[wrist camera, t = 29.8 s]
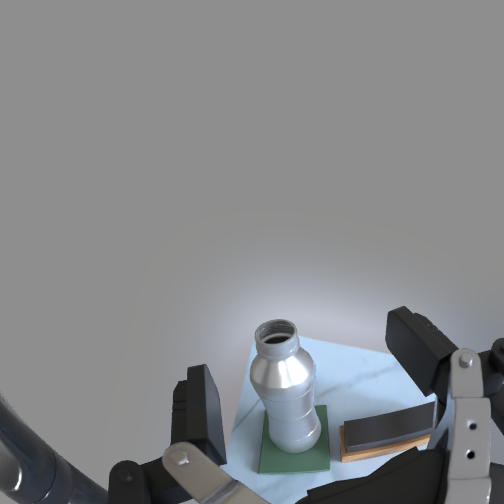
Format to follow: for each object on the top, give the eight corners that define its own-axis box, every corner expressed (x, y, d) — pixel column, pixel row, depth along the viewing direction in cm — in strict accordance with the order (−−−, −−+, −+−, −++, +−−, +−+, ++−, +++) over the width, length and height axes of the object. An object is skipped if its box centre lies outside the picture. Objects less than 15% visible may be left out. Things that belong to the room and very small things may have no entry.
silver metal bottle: (320, 457, 28) (313, 355, 20) (268, 457, 30) (229, 357, 22) (322, 419, 34) (315, 307, 26) (275, 419, 36) (246, 311, 28)
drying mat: (259, 474, 28) (258, 472, 28) (265, 411, 38) (265, 409, 38) (330, 470, 26) (330, 469, 26) (326, 406, 36) (326, 404, 36)
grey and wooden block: (341, 462, 27) (343, 451, 25) (339, 432, 32) (339, 418, 30) (441, 439, 25) (450, 424, 23) (432, 412, 29) (439, 396, 28)
